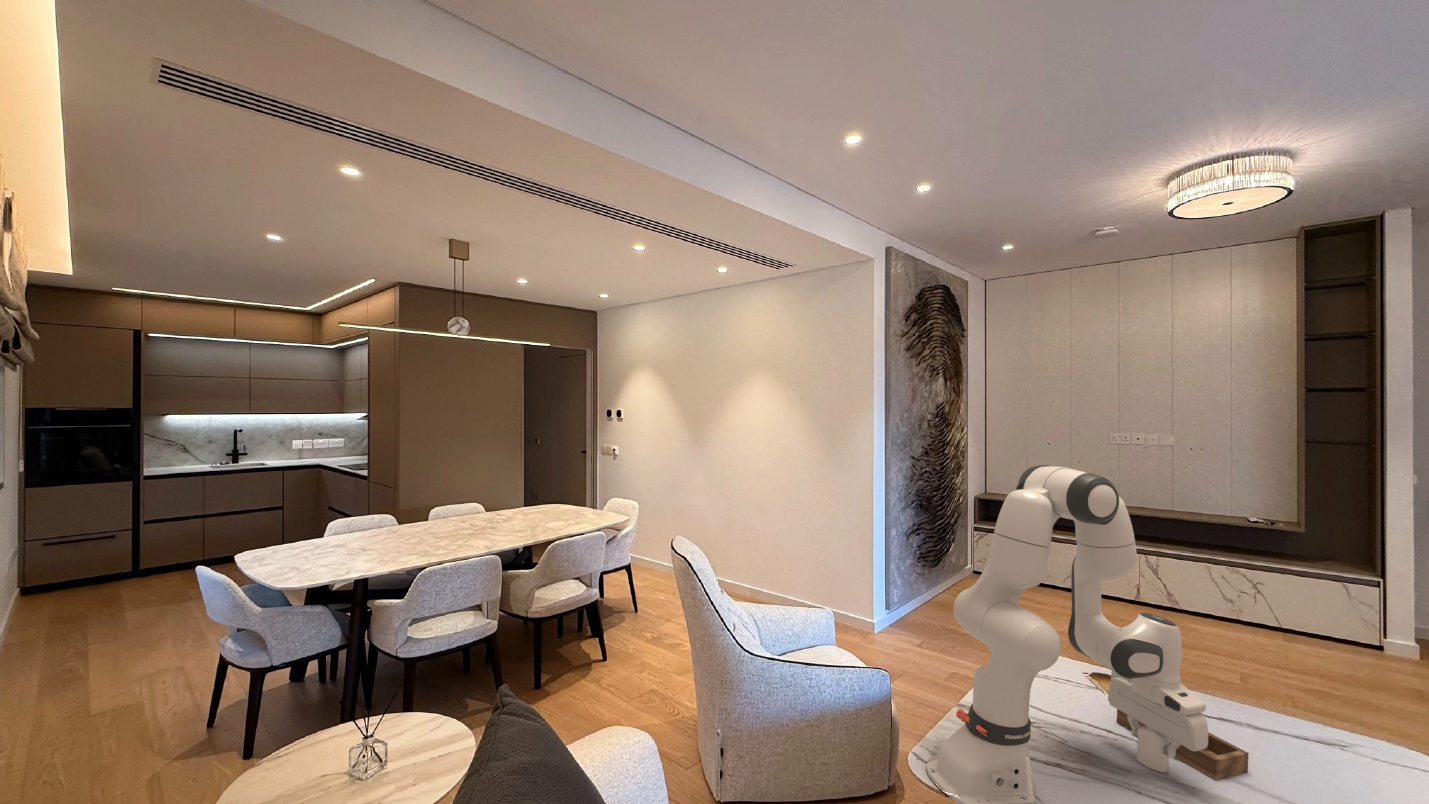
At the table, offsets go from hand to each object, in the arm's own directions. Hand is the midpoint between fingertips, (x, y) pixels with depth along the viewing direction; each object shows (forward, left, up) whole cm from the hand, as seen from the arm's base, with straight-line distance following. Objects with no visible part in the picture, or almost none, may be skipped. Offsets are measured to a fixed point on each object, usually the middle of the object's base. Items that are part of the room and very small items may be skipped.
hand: (1153, 746), depth 131 cm
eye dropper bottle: (0, 0, -5) cm, 5 cm away
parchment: (+24, +26, -5) cm, 36 cm away
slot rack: (+14, +4, -5) cm, 15 cm away
